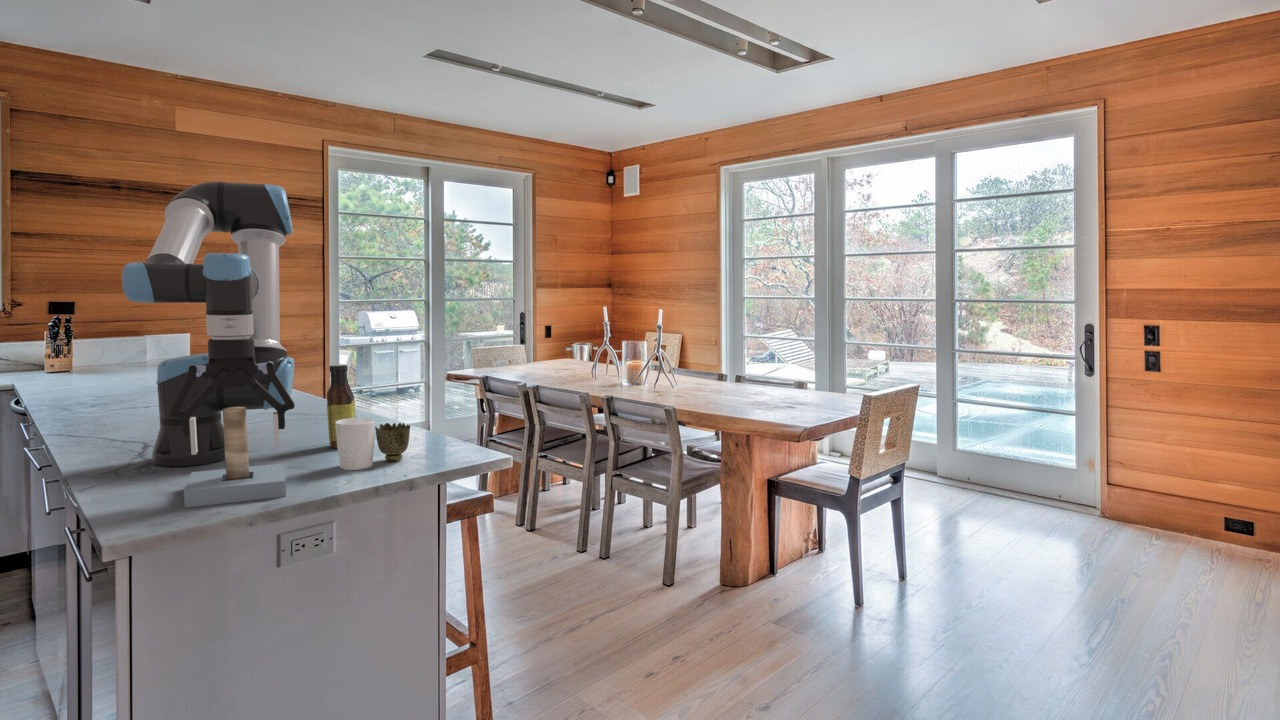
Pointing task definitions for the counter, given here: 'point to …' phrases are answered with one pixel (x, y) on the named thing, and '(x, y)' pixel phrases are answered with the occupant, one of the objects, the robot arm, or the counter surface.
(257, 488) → the block
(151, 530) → the counter surface
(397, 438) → the cup
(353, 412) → the sauce bottle
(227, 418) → the dowel
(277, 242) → the robot arm
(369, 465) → the white cup
